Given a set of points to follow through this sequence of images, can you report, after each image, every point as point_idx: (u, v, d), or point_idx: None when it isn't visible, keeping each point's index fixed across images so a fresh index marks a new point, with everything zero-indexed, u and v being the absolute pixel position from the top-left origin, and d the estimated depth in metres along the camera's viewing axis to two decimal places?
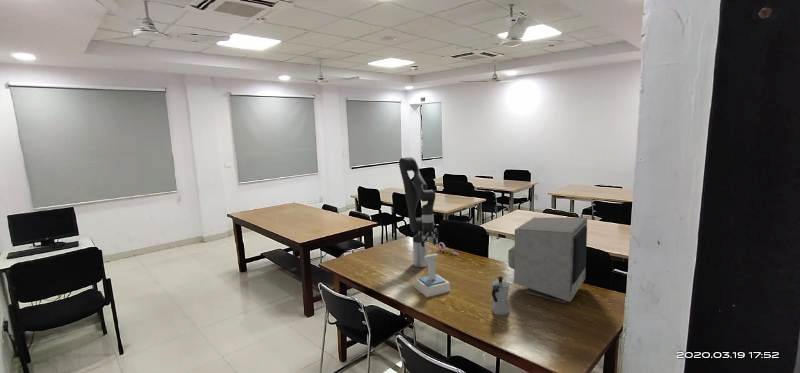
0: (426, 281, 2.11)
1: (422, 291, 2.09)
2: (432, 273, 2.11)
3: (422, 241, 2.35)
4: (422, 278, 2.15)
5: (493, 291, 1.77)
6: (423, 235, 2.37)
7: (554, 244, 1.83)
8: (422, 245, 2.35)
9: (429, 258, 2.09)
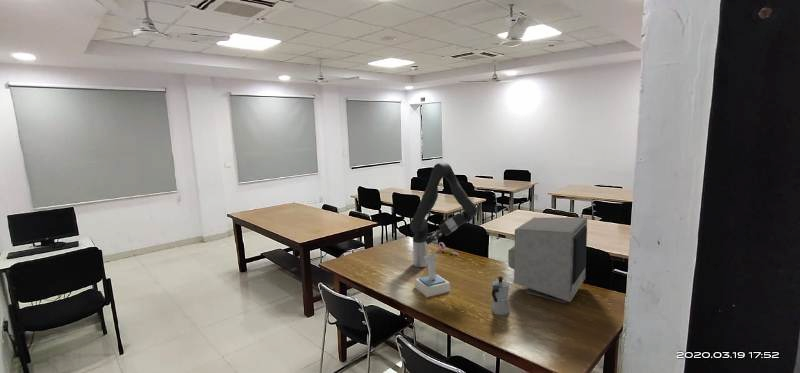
0: (426, 281, 2.11)
1: (422, 291, 2.09)
2: (432, 273, 2.11)
3: (432, 240, 2.16)
4: (422, 278, 2.15)
5: (493, 291, 1.77)
6: (435, 234, 2.18)
7: (554, 244, 1.83)
8: (428, 243, 2.16)
9: (429, 258, 2.09)
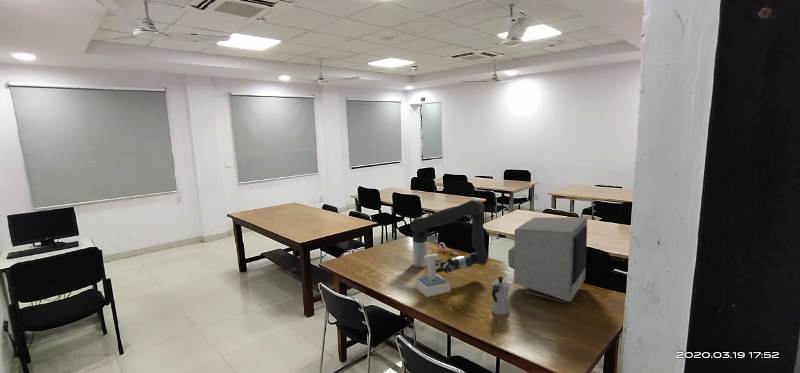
0: (426, 281, 2.11)
1: (422, 291, 2.09)
2: (432, 273, 2.11)
3: None
4: (422, 278, 2.15)
5: (493, 291, 1.77)
6: None
7: (554, 244, 1.83)
8: (438, 271, 2.08)
9: (429, 258, 2.09)
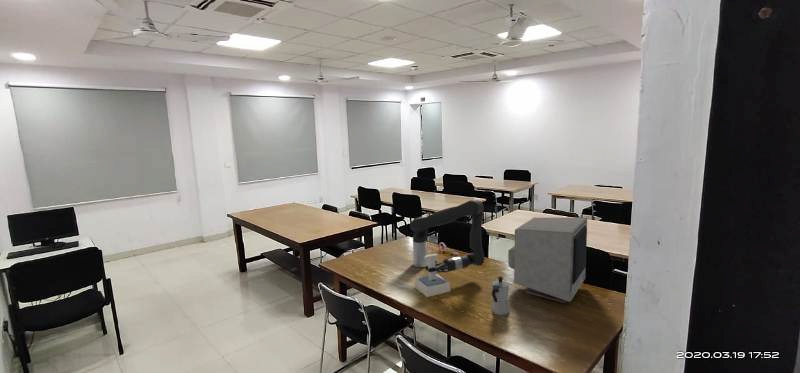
0: (426, 281, 2.11)
1: (422, 291, 2.09)
2: (432, 273, 2.11)
3: (434, 270, 2.10)
4: (422, 278, 2.15)
5: (493, 291, 1.77)
6: (440, 266, 2.12)
7: (554, 244, 1.83)
8: (431, 271, 2.09)
9: (429, 258, 2.09)
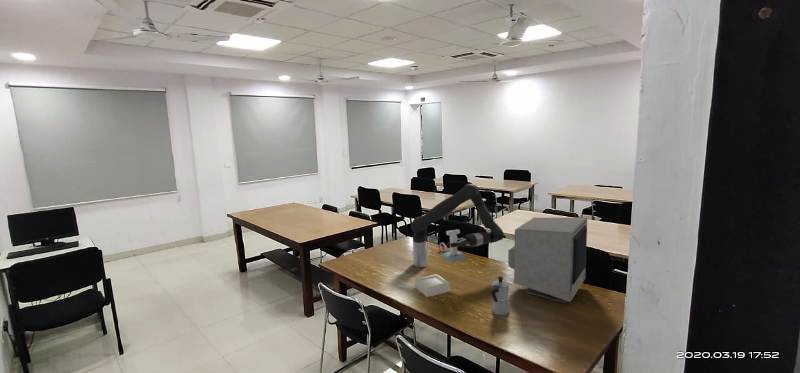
0: (448, 256, 2.15)
1: (422, 291, 2.09)
2: (454, 248, 2.15)
3: (456, 245, 2.14)
4: (444, 253, 2.19)
5: (493, 291, 1.77)
6: None
7: (554, 244, 1.83)
8: (453, 246, 2.13)
9: (451, 233, 2.14)
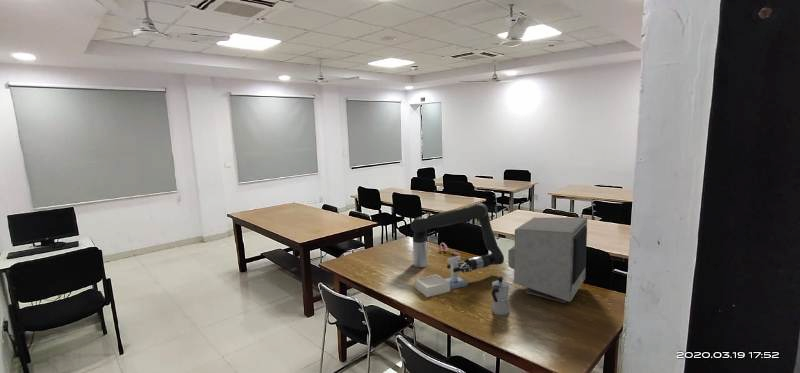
0: None
1: (422, 291, 2.09)
2: (455, 275, 2.17)
3: (459, 270, 2.15)
4: None
5: (493, 291, 1.77)
6: None
7: (554, 244, 1.83)
8: (456, 271, 2.14)
9: (452, 260, 2.16)
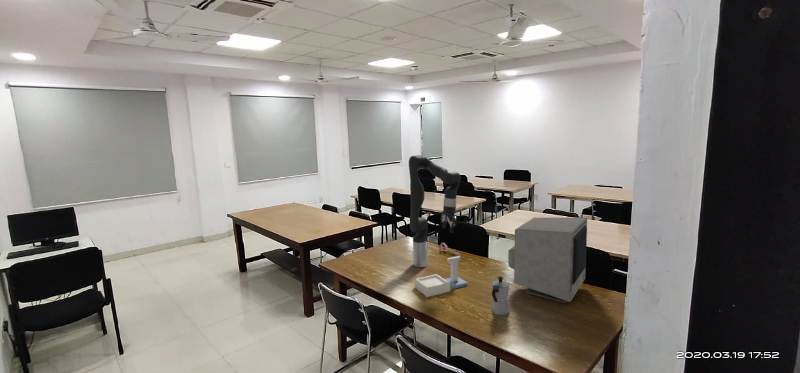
0: None
1: (422, 291, 2.09)
2: (455, 275, 2.17)
3: (453, 226, 2.21)
4: None
5: (493, 291, 1.77)
6: None
7: (554, 244, 1.83)
8: None
9: (452, 260, 2.16)
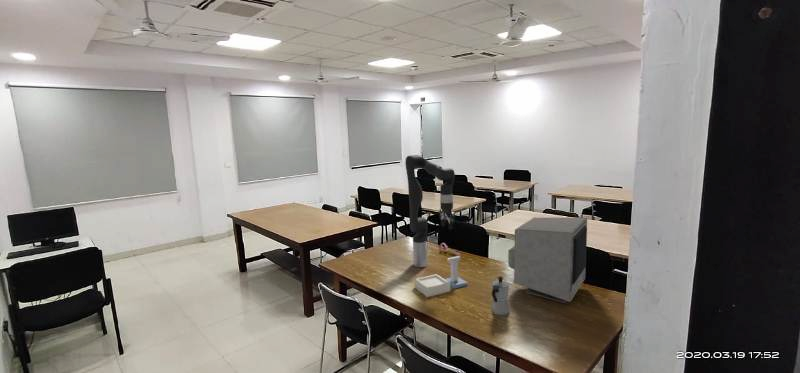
0: None
1: (422, 291, 2.09)
2: (455, 275, 2.17)
3: None
4: None
5: (493, 291, 1.77)
6: (447, 217, 2.21)
7: (554, 244, 1.83)
8: (452, 227, 2.21)
9: (452, 260, 2.16)
